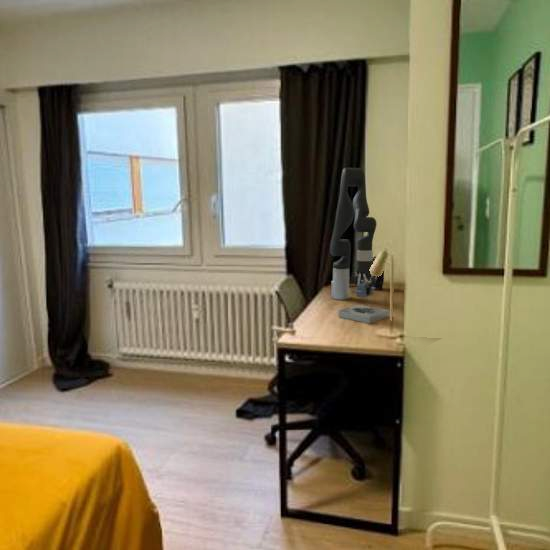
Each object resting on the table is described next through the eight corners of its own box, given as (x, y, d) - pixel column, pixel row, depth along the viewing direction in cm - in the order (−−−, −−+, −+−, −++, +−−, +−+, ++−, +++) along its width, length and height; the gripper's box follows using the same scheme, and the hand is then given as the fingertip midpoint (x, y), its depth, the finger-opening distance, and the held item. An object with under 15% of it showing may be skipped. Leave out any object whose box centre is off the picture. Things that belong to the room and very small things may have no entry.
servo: (352, 297, 239) (352, 283, 238) (368, 293, 248) (368, 279, 247) (359, 298, 236) (359, 284, 235) (375, 294, 245) (375, 280, 244)
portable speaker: (385, 290, 300) (386, 258, 296) (370, 290, 299) (370, 258, 296) (381, 287, 308) (381, 255, 305) (366, 287, 308) (366, 256, 304)
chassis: (338, 316, 244) (338, 310, 244) (358, 310, 256) (358, 304, 256) (369, 323, 232) (369, 317, 231) (389, 316, 244) (389, 310, 243)
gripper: (381, 259, 237) (381, 295, 240) (356, 257, 246) (356, 291, 249) (372, 261, 231) (372, 297, 234) (347, 258, 241) (347, 293, 244)
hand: (364, 294), depth 242 cm, fingers closed on servo, 4 cm apart
